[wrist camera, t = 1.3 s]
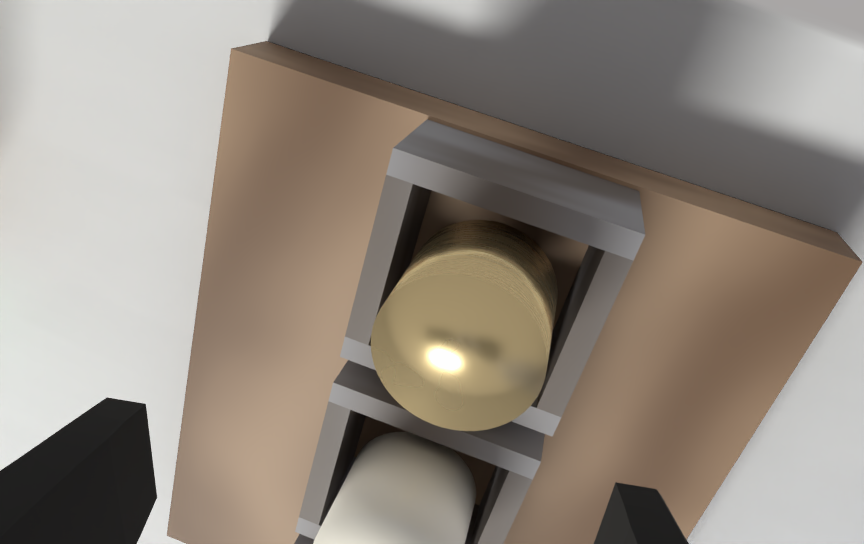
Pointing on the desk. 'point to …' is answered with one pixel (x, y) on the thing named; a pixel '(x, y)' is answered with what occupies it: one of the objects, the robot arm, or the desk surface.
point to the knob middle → (402, 495)
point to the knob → (468, 327)
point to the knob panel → (391, 256)
